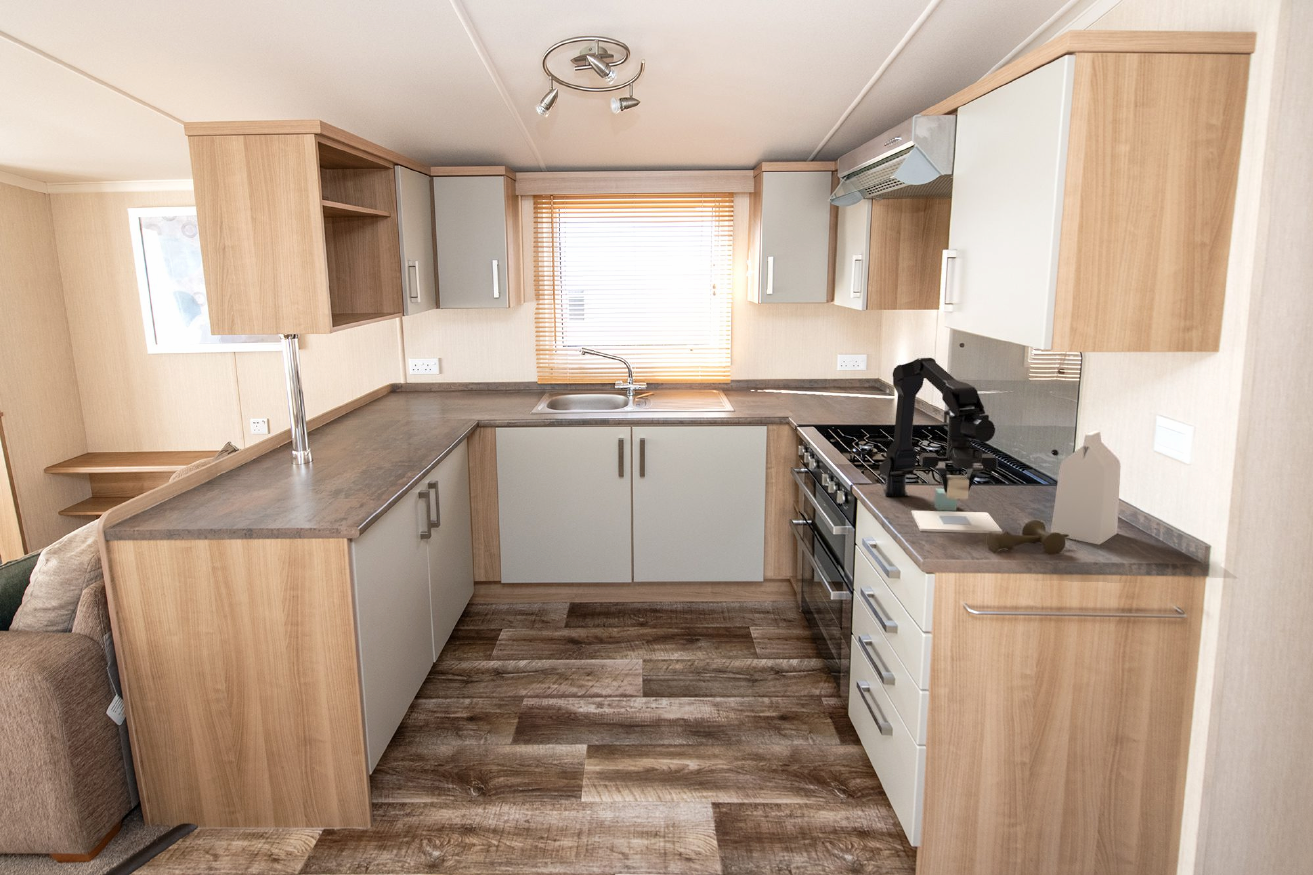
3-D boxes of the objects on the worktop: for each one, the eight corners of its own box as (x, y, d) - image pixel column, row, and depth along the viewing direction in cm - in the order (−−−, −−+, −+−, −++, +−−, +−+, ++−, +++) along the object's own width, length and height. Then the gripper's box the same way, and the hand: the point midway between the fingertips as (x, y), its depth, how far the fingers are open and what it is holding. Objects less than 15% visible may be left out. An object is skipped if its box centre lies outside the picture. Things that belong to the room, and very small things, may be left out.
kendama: (979, 547, 197) (1055, 540, 199) (999, 561, 188) (1080, 554, 190) (980, 524, 196) (1057, 517, 198) (1001, 537, 186) (1082, 530, 188)
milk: (1069, 523, 211) (1077, 426, 206) (1117, 533, 203) (1126, 432, 198) (1050, 534, 203) (1058, 433, 198) (1099, 544, 195) (1109, 439, 190)
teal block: (934, 505, 230) (935, 488, 229) (952, 505, 229) (953, 488, 228) (937, 510, 225) (938, 493, 224) (956, 510, 225) (957, 493, 224)
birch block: (944, 493, 215) (945, 475, 214) (964, 493, 214) (965, 475, 213) (947, 498, 210) (949, 480, 209) (968, 498, 210) (969, 480, 209)
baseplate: (911, 512, 223) (911, 510, 223) (987, 514, 220) (987, 512, 220) (920, 531, 208) (920, 528, 208) (1002, 533, 204) (1002, 530, 204)
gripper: (927, 440, 203) (924, 500, 206) (1005, 441, 200) (1001, 502, 203) (920, 431, 214) (917, 488, 217) (994, 432, 210) (990, 490, 214)
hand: (956, 492), depth 212 cm, fingers closed on birch block, 5 cm apart
